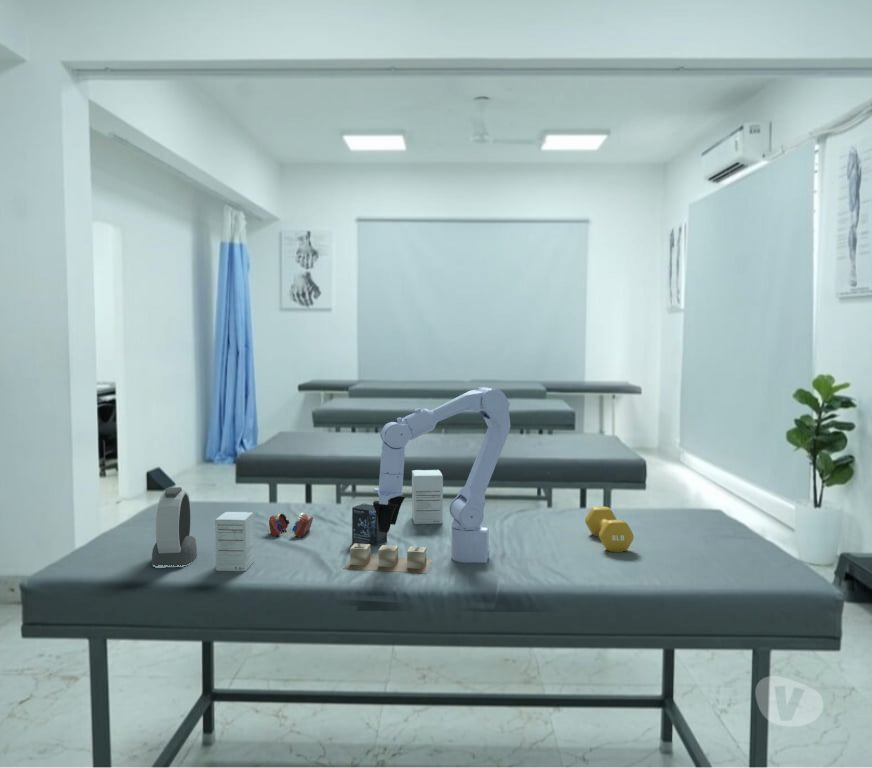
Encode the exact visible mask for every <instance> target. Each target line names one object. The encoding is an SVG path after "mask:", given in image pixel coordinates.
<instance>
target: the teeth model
mask: <svg viewBox="0 0 872 768" xmlns="http://www.w3.org/2000/svg"><path fill="white" fill-rule="evenodd" d="M313 521H314V517H313V516H312V515H309V514H308V515H307V514H306V513H304V512H300V513H299V515H298V517H296V521H295V523H294V525H293V527H292V528H291V531H292V532H293V533H294V535H295V537H297V538H299V539H302V537H303V536H305V535H306V534H307V533H308V532H309V531H310V530H311V527H312V523H313ZM289 524H290V520H289V518H288V517H287V515H286V514H284V513H283V512H282V513H278V514H276V515H271V516H270V517H269V521H268V526H269V531H270V533H271V537H278V536H279V535H280V534H282V531H284V530H286V529H287V528H288V527H289Z"/></svg>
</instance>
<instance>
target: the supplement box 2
mask: <svg viewBox="0 0 872 768" xmlns="http://www.w3.org/2000/svg"><path fill="white" fill-rule="evenodd" d="M443 503H444V476H443V474H442V472H441V470H439V469H425V470H423V469H415V470H414V469H413V470H411V518H412V521H413V524H414V525H433V524H434V525H441V524H443V523H444V520H443V518H444V517H443V515H444V514H443V513H444V511H443V510H444V506H443V505H444V504H443Z"/></svg>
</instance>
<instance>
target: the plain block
mask: <svg viewBox="0 0 872 768" xmlns="http://www.w3.org/2000/svg"><path fill="white" fill-rule="evenodd" d="M378 557H379V566H384V567H395V566H396V565H397V563H398V558H399V545H394V544H393V545H392V544H391V545H389V544H381V546H379V549H378Z"/></svg>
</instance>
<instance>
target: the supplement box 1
mask: <svg viewBox="0 0 872 768" xmlns="http://www.w3.org/2000/svg"><path fill="white" fill-rule="evenodd" d="M214 521H215V523H214V524H215V570H216V571H217V572H246V571H247V570H248V569H249V568H250V567H251V566H252V564H253V563H254V562H255V540H254V539H255V537H254V536H255V535H254V533H255V531H254V527H255V525H254V524H255V523H254V512H250V511H224V512H223V513H222V514H220V515H219V516H218V517H217V518H216V519H215V520H214Z"/></svg>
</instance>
